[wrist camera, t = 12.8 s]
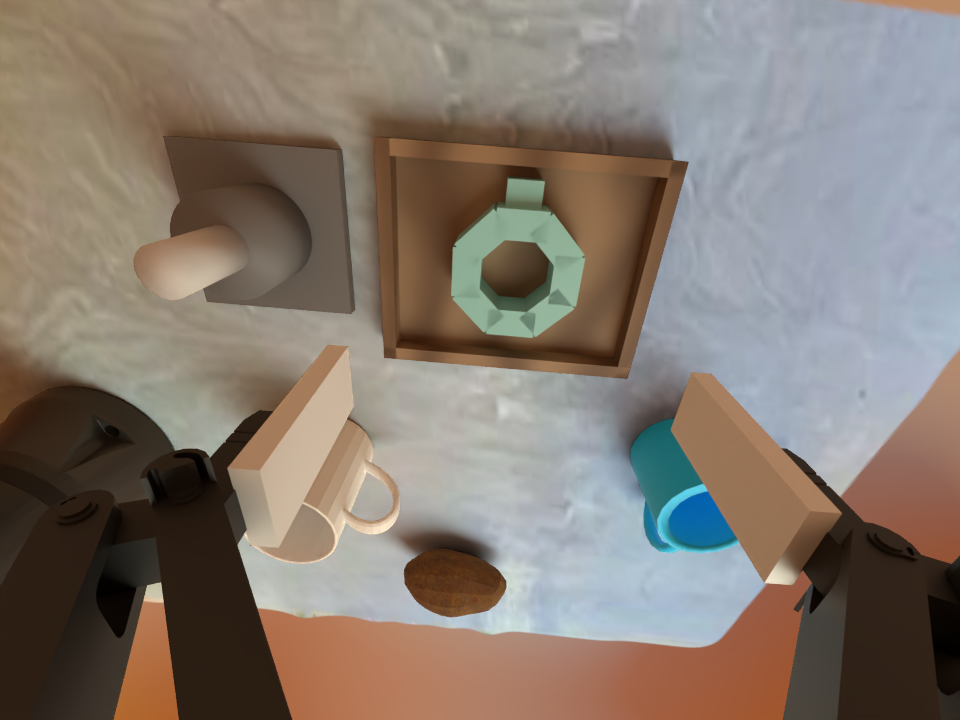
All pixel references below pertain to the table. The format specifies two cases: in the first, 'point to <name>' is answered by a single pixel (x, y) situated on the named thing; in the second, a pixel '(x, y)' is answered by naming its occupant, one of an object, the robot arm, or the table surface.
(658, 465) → the mug
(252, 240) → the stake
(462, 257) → the ring
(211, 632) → the robot arm
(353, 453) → the mug
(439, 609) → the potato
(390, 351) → the tray
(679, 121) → the table surface
